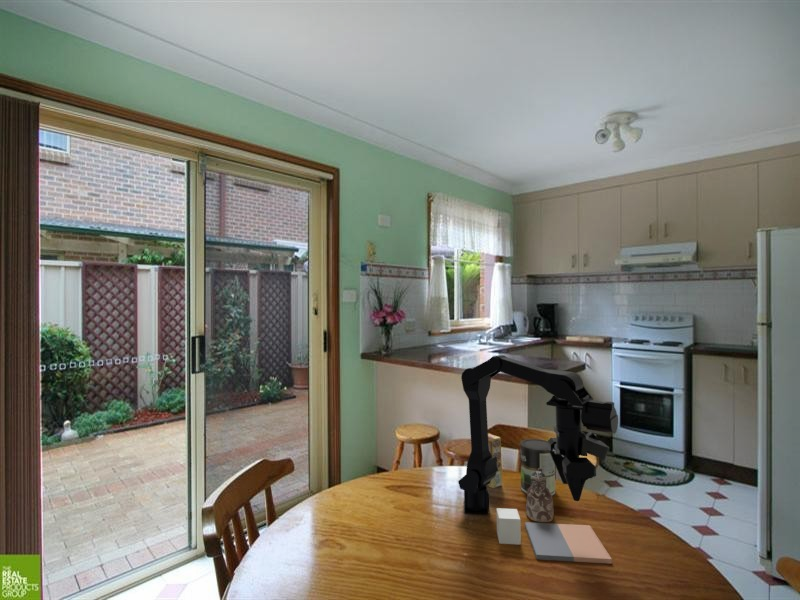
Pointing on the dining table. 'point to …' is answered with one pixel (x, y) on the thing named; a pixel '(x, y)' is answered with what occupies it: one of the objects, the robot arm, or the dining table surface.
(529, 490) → the figurine
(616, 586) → the dining table surface
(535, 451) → the coffee can
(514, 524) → the cream block
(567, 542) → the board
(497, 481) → the candy box
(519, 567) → the dining table surface
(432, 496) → the dining table surface
